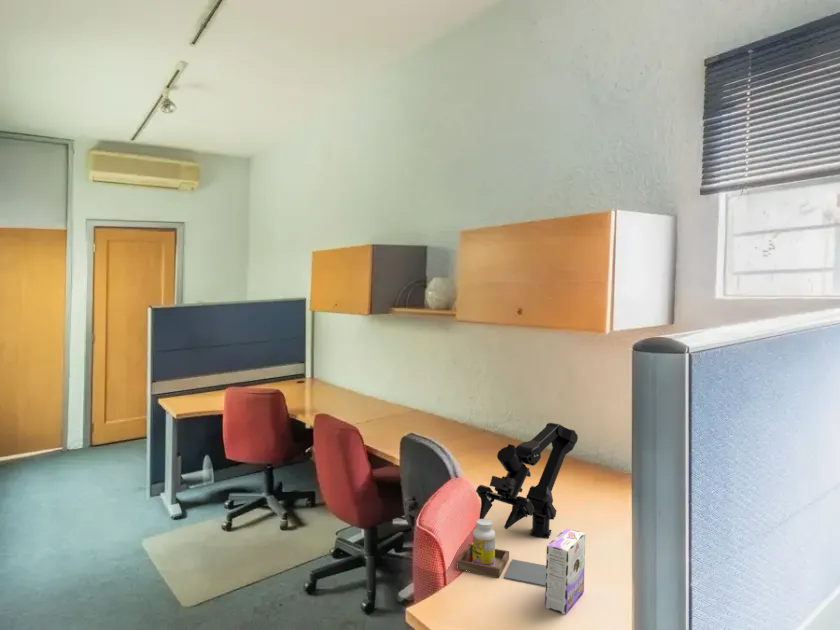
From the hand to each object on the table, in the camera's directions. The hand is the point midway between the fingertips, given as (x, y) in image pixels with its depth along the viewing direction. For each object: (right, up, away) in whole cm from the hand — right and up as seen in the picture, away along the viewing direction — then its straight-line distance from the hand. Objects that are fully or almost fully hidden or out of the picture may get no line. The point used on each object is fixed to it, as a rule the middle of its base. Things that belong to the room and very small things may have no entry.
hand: (492, 524), depth 169 cm
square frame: (-3, -11, -3) cm, 12 cm away
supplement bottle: (-3, -11, -3) cm, 12 cm away
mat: (+9, -11, -8) cm, 17 cm away
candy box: (+16, -12, -22) cm, 30 cm away
